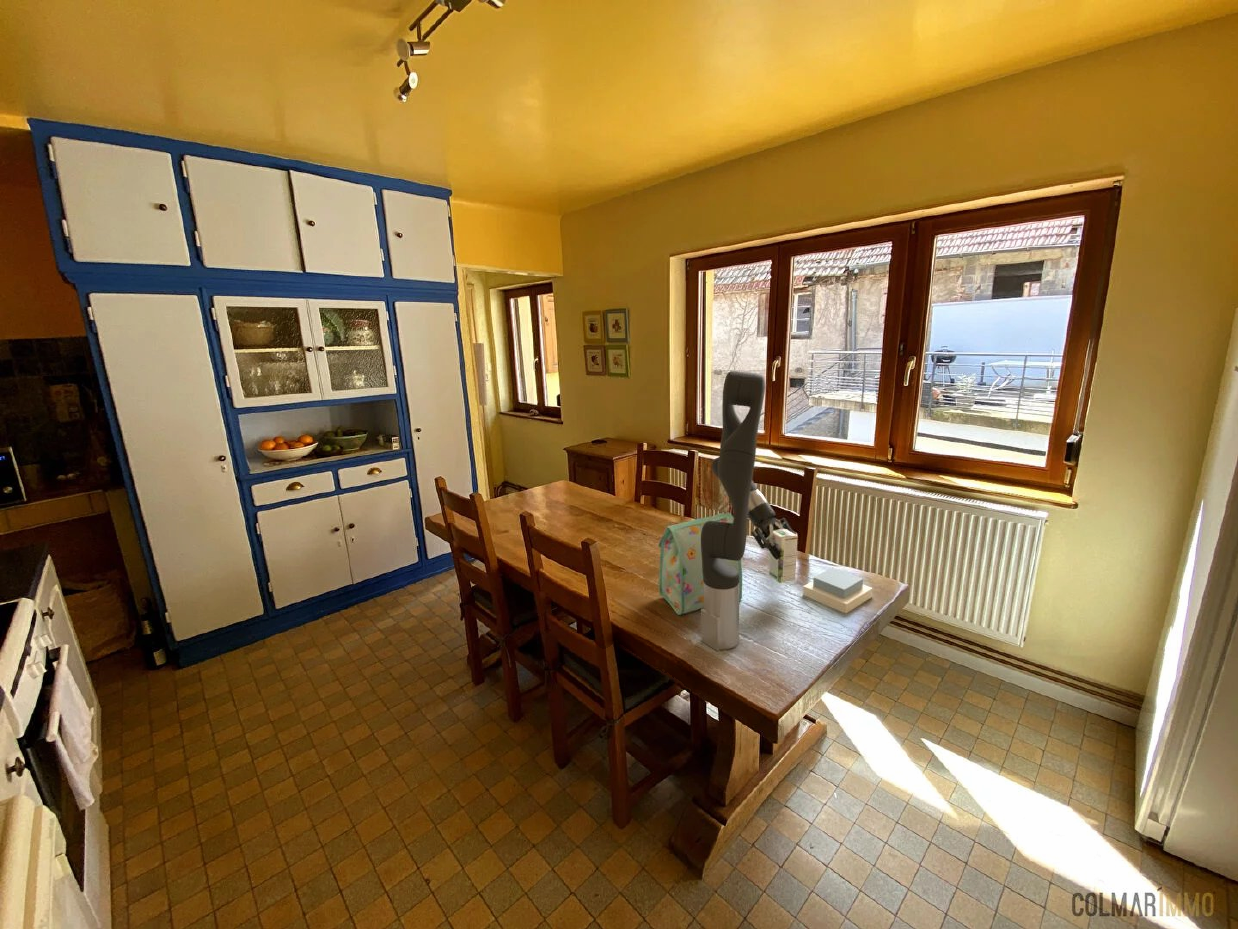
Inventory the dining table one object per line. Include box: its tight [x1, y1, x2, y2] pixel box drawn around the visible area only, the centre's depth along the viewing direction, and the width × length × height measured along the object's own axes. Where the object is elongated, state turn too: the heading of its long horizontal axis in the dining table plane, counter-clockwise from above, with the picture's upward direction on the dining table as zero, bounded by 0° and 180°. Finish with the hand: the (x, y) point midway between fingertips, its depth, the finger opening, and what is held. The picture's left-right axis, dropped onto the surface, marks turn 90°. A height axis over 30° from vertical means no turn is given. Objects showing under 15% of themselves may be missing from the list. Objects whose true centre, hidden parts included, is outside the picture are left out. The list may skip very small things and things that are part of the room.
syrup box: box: [768, 529, 798, 584], centre depth 150 cm, size 6×6×14 cm
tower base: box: [802, 567, 873, 614], centre depth 152 cm, size 14×14×6 cm
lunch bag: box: [657, 512, 743, 616], centre depth 153 cm, size 23×16×27 cm
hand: (787, 554), depth 149 cm, fingers closed on syrup box, 7 cm apart
